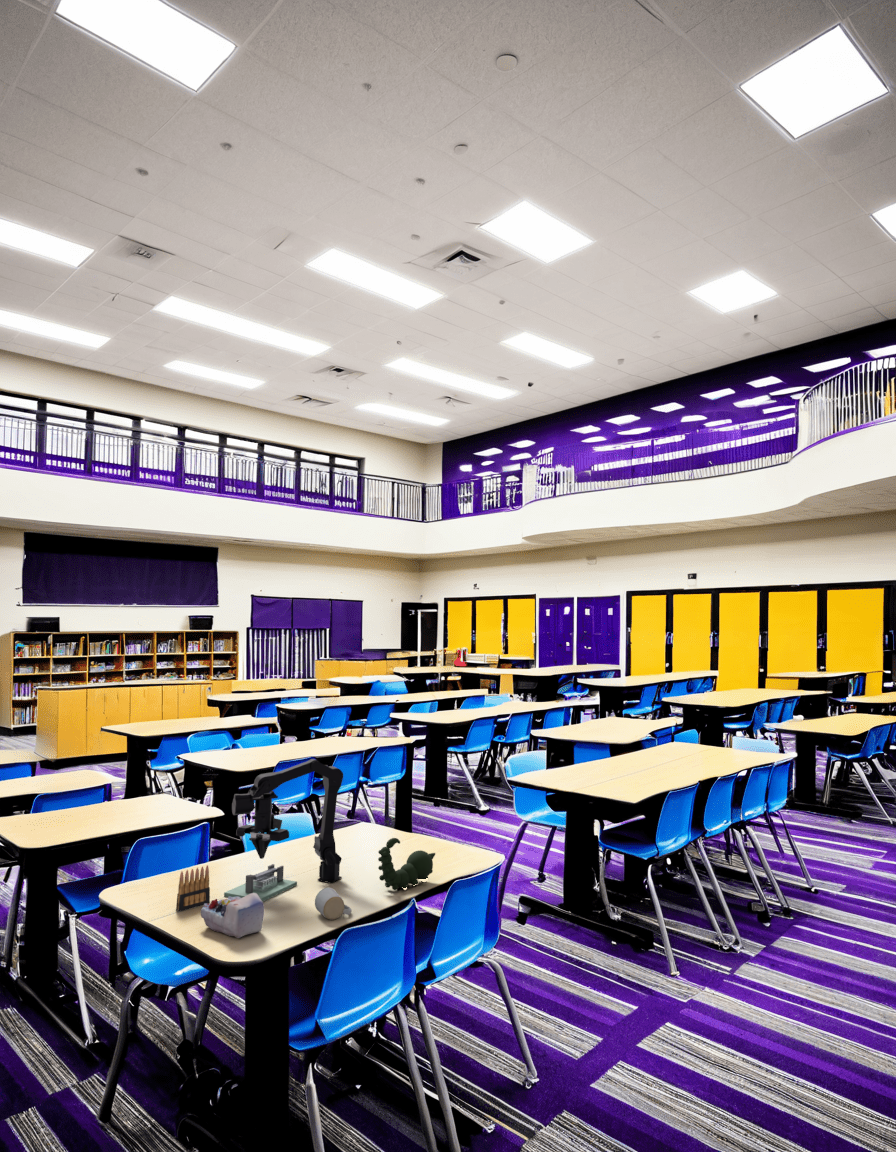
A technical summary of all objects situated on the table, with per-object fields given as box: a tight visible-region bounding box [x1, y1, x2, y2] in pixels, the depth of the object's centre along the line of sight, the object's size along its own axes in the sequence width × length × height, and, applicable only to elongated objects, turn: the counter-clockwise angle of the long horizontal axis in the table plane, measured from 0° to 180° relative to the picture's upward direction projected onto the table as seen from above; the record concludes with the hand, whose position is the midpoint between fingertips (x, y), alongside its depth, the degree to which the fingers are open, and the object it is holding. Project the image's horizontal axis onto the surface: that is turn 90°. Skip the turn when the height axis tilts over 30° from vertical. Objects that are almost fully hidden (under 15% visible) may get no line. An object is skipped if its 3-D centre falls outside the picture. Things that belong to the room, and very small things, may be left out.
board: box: [223, 878, 298, 903], centre depth 245 cm, size 15×20×1 cm
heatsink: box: [253, 875, 277, 892], centre depth 245 cm, size 7×8×3 cm
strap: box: [253, 867, 277, 880], centre depth 247 cm, size 12×3×1 cm, turn 155°
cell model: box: [200, 893, 265, 939], centre depth 211 cm, size 13×11×20 cm
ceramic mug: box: [314, 887, 352, 921], centre depth 222 cm, size 11×8×8 cm
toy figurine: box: [377, 837, 436, 891], centre depth 251 cm, size 9×19×25 cm
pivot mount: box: [267, 863, 284, 883], centre depth 252 cm, size 5×3×5 cm, turn 66°
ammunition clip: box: [175, 864, 211, 912], centre depth 229 cm, size 11×2×12 cm, turn 138°
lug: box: [245, 874, 256, 893], centre depth 240 cm, size 2×2×5 cm
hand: (261, 858), depth 246 cm, fingers closed
